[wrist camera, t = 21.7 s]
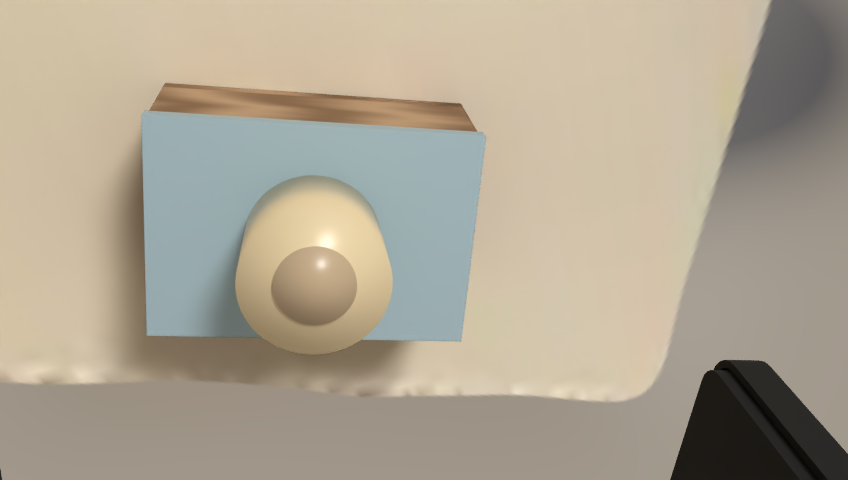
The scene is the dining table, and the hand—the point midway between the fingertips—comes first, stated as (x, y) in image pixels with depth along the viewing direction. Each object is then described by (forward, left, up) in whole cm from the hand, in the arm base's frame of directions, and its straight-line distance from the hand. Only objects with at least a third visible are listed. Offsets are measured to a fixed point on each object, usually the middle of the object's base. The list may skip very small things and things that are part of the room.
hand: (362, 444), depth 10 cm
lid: (0, -9, -24) cm, 26 cm away
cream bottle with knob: (0, -9, -24) cm, 25 cm away
